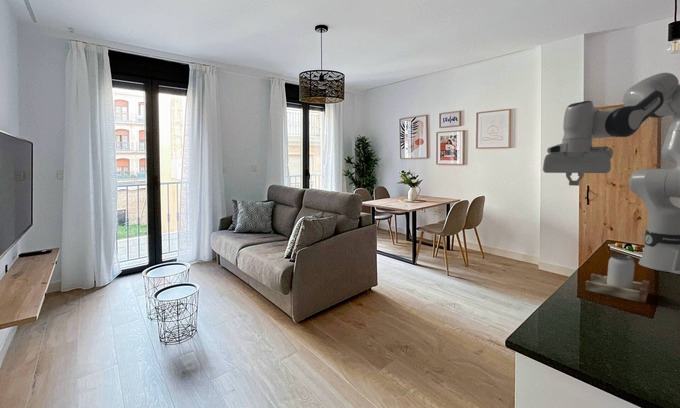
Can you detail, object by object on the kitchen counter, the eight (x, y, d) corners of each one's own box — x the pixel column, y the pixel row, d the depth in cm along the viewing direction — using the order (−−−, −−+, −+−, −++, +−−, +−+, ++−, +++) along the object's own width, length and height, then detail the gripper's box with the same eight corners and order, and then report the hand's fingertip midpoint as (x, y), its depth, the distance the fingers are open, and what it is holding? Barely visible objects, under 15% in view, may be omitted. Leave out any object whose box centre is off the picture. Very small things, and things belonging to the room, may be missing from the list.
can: (635, 297, 105) (638, 261, 103) (610, 295, 107) (613, 259, 106) (627, 290, 111) (630, 255, 109) (603, 287, 113) (606, 253, 111)
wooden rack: (585, 290, 111) (585, 278, 111) (591, 281, 119) (592, 270, 118) (645, 303, 101) (646, 290, 100) (648, 292, 108) (649, 281, 107)
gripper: (614, 146, 115) (611, 185, 117) (547, 148, 130) (545, 183, 131) (611, 145, 111) (608, 187, 112) (542, 148, 125) (540, 185, 127)
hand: (574, 185), depth 122 cm, fingers closed
